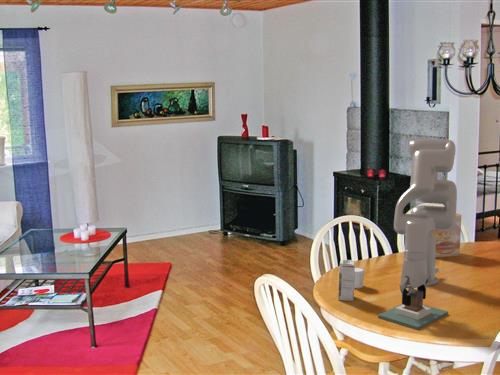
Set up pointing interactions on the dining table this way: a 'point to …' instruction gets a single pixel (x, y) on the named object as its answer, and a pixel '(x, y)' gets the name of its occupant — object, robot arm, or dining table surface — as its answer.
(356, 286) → the white grey cup
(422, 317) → the socket board
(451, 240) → the coffeecake box
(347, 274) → the syrup box
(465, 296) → the dining table surface
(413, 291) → the grey metal plug
